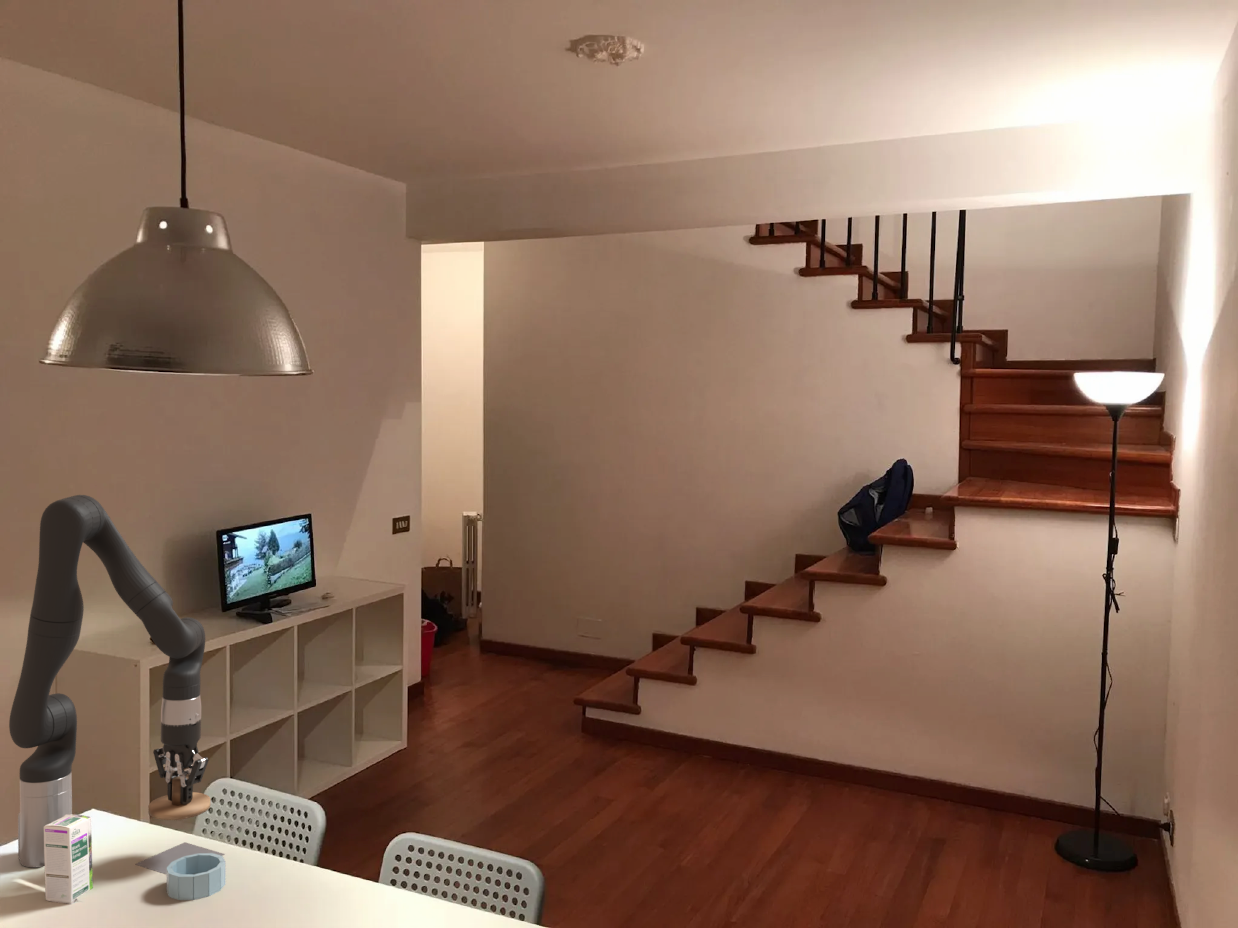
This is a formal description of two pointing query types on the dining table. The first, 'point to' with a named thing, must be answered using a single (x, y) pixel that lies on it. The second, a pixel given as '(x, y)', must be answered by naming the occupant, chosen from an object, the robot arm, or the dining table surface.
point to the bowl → (195, 876)
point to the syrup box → (68, 858)
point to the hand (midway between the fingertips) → (179, 800)
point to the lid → (178, 804)
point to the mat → (172, 856)
